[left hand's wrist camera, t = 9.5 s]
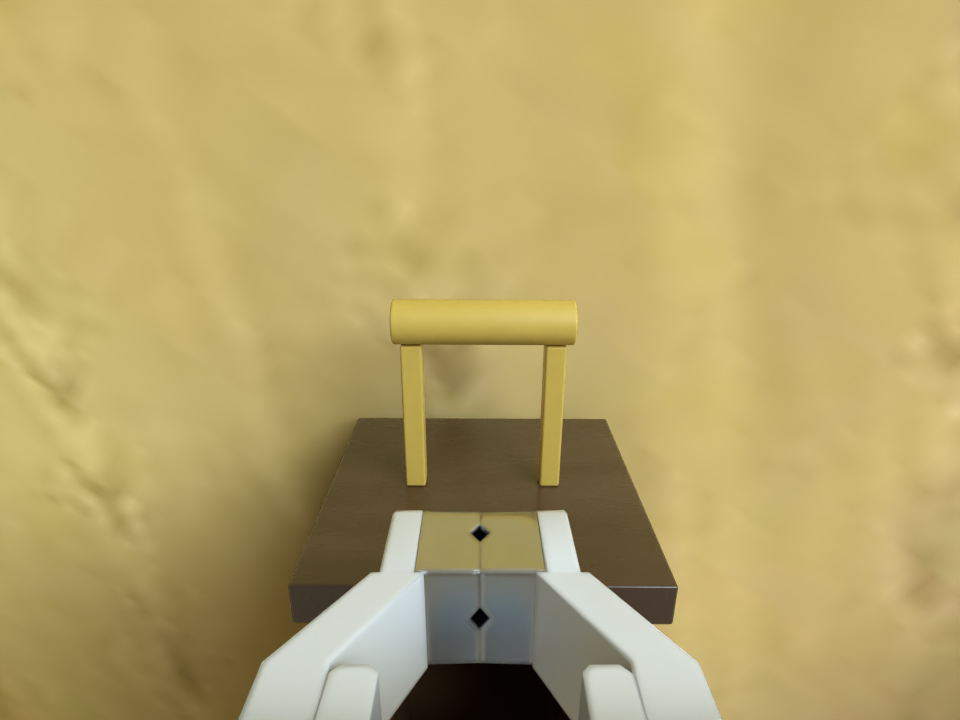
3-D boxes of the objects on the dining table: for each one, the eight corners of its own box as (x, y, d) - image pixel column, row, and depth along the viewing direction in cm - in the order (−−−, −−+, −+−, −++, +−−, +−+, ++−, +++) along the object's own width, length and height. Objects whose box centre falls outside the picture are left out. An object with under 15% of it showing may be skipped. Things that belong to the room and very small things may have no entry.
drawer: (346, 265, 21) (255, 359, 12) (619, 267, 21) (715, 361, 12) (384, 755, 29) (346, 1004, 21) (575, 755, 29) (613, 1004, 21)
